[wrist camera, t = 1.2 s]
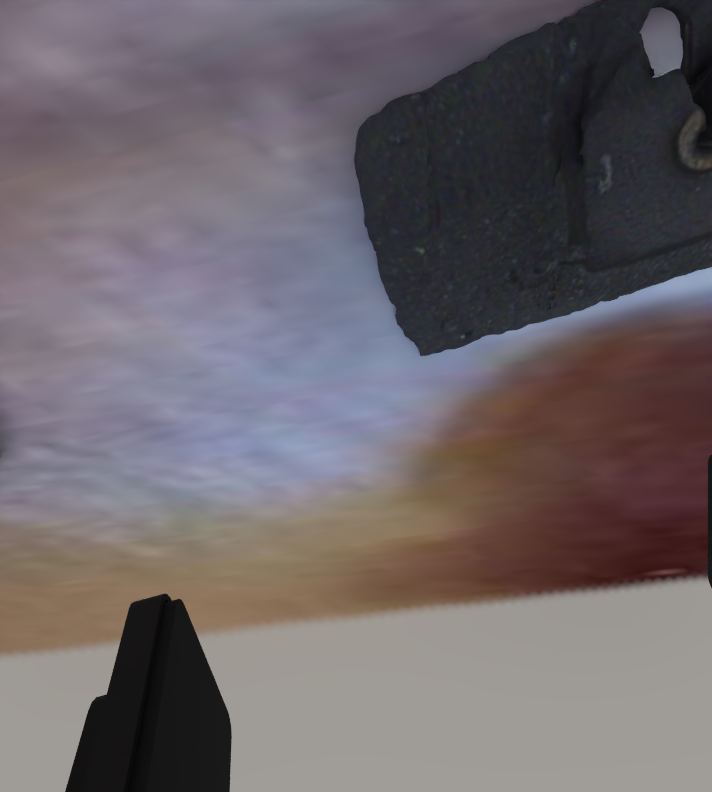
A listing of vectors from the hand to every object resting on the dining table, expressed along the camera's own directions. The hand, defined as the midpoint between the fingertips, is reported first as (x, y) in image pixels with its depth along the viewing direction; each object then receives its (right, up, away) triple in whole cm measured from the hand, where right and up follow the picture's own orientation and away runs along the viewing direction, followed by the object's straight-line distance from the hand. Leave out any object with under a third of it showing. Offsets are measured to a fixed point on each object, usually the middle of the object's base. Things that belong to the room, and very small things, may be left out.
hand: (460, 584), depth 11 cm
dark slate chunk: (+9, +15, +23) cm, 29 cm away
